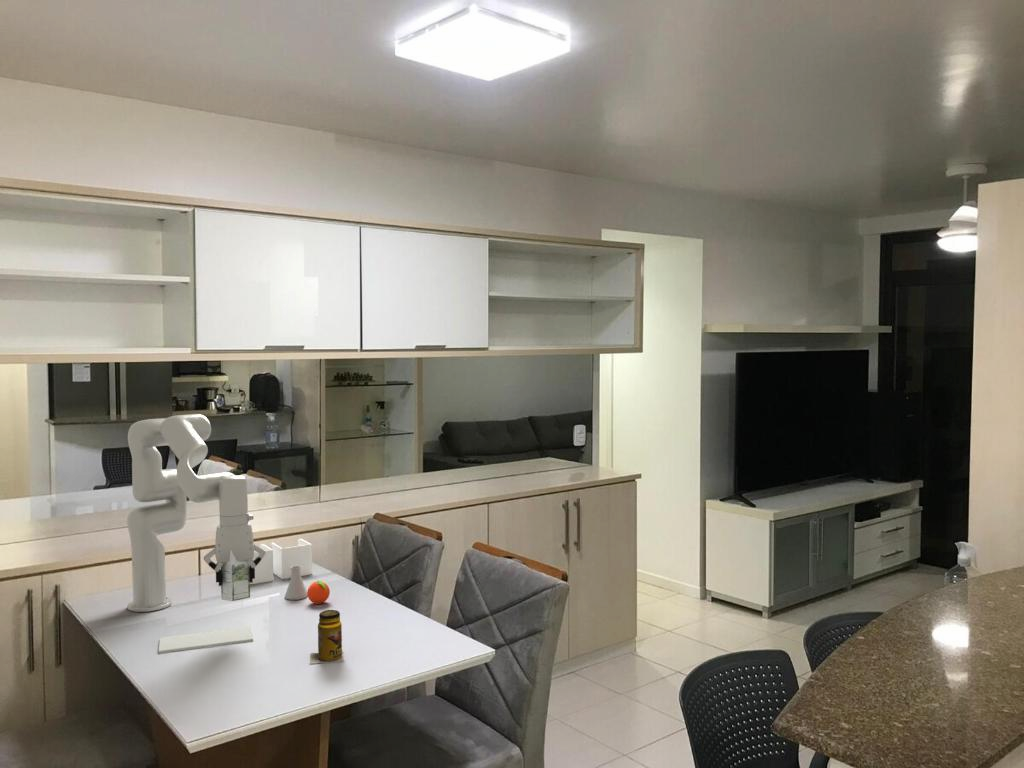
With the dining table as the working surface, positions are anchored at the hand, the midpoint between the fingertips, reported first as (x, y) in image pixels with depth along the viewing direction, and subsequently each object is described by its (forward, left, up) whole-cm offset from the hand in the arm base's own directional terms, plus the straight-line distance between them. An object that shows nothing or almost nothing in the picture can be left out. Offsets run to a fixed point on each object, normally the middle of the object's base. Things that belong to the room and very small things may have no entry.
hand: (235, 582), depth 234 cm
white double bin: (-61, +15, -16) cm, 65 cm away
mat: (0, -8, -15) cm, 17 cm away
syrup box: (0, 0, -5) cm, 5 cm away
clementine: (-22, +26, -15) cm, 37 cm away
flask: (-32, +20, -16) cm, 41 cm away
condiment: (+26, +21, -16) cm, 37 cm away
